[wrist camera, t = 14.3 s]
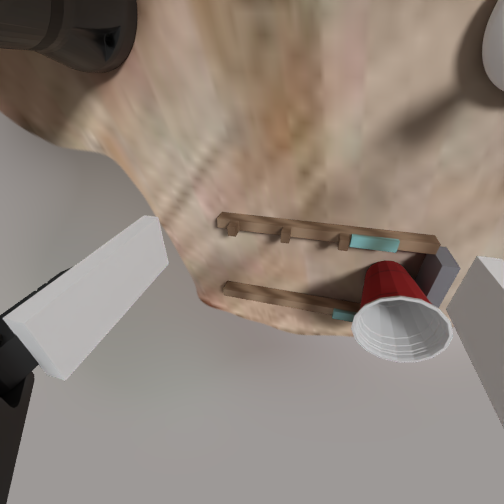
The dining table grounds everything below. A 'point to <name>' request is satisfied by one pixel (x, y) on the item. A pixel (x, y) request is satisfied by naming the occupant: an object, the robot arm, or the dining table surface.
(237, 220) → the comb channel
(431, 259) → the end stop
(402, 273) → the plastic cup
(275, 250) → the dining table surface
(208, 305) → the dining table surface
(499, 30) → the flower in vase
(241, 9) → the dining table surface
